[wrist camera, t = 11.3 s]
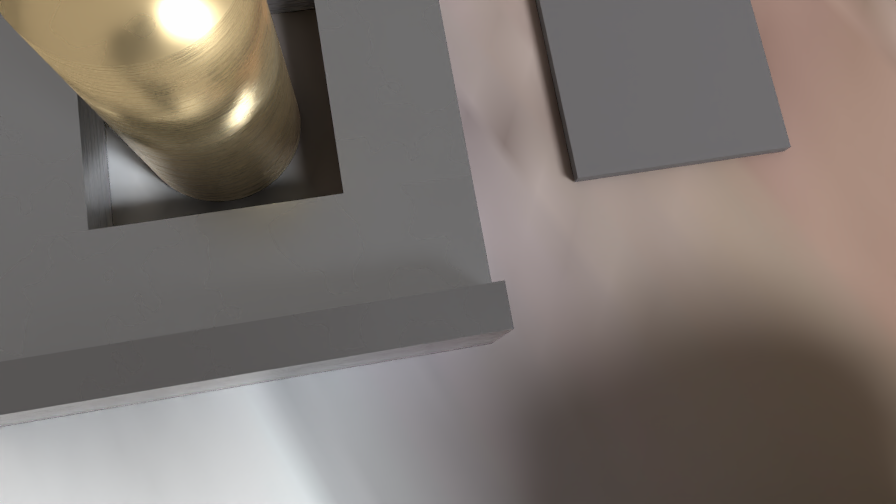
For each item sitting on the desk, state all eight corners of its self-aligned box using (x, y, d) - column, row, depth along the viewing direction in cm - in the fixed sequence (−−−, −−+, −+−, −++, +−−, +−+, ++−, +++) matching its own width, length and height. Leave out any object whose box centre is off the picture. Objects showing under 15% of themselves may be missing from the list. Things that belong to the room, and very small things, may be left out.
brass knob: (310, 188, 23) (260, 48, 14) (148, 212, 22) (-11, 81, 13) (290, 44, 24) (231, -174, 15) (133, 63, 23) (-25, -151, 14)
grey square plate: (784, 151, 24) (790, 146, 24) (574, 181, 23) (578, 178, 23) (730, -43, 25) (736, -50, 25) (531, -20, 25) (533, -27, 24)
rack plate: (491, 343, 22) (513, 328, 18) (-6, 427, 21) (-99, 431, 17) (404, -128, 25) (407, -227, 21) (-34, -85, 24) (-118, -184, 20)
